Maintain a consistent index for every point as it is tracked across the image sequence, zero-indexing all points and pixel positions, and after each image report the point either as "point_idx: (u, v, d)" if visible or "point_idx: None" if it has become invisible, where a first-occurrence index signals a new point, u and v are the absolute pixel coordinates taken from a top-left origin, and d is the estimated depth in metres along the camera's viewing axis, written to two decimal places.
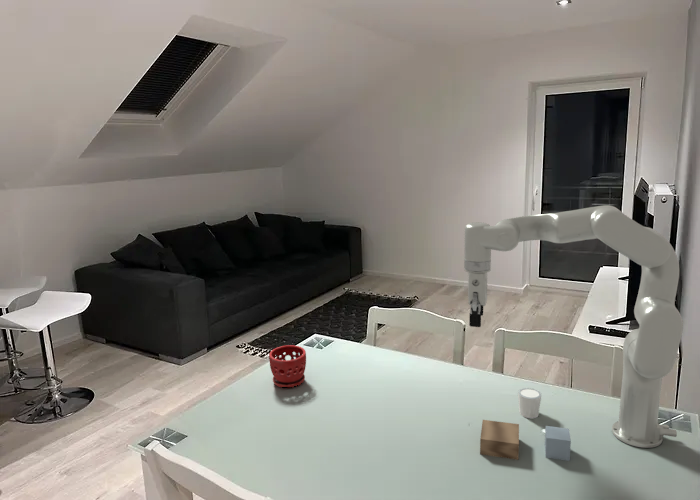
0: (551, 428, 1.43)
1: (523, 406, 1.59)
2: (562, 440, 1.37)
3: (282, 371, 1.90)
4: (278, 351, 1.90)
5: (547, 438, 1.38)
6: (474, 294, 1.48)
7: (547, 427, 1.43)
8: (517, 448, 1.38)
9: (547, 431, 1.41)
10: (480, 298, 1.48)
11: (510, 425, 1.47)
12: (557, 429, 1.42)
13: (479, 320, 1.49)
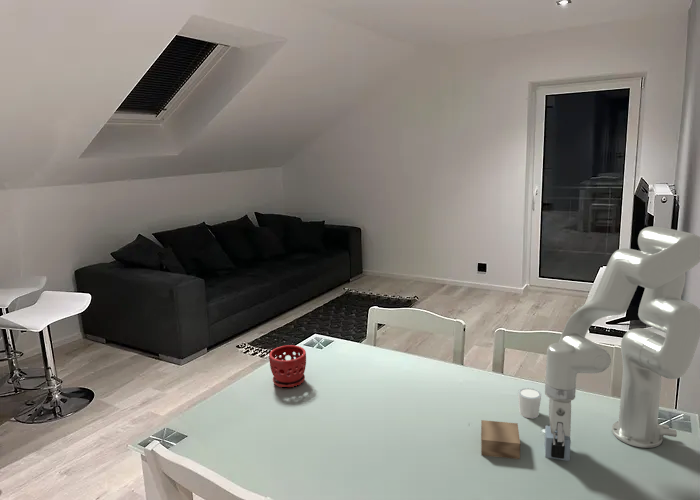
0: None
1: (523, 406, 1.59)
2: None
3: (282, 371, 1.90)
4: (278, 351, 1.90)
5: (547, 438, 1.38)
6: (558, 426, 1.34)
7: (547, 427, 1.43)
8: (518, 448, 1.39)
9: (547, 431, 1.41)
10: (565, 429, 1.34)
11: (509, 425, 1.47)
12: None
13: (562, 451, 1.37)
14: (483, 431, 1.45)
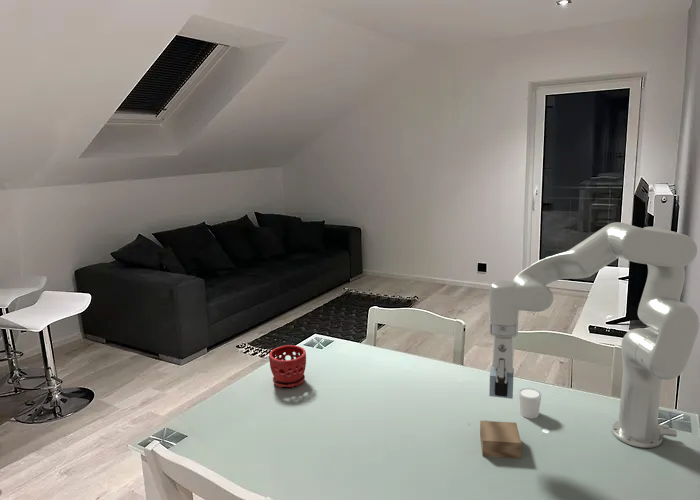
0: None
1: (523, 406, 1.59)
2: None
3: (282, 371, 1.90)
4: (278, 351, 1.90)
5: (490, 376, 1.38)
6: (500, 363, 1.34)
7: (492, 367, 1.43)
8: (519, 447, 1.39)
9: (491, 370, 1.41)
10: (507, 365, 1.34)
11: (508, 424, 1.47)
12: None
13: (506, 389, 1.37)
14: (483, 432, 1.44)
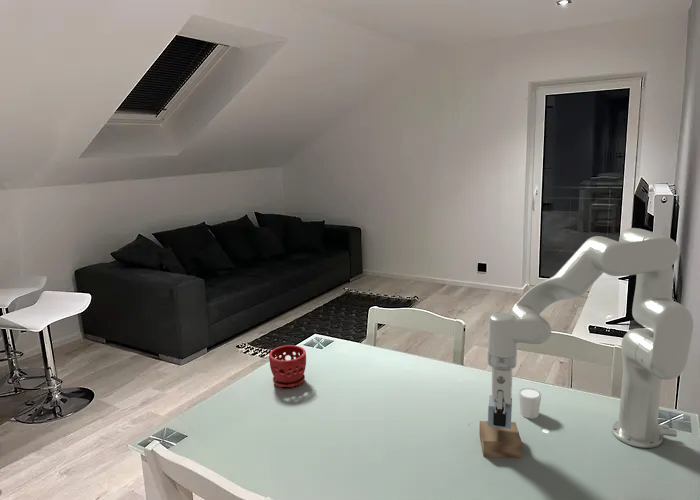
0: None
1: (523, 406, 1.59)
2: None
3: (282, 371, 1.90)
4: (278, 351, 1.90)
5: (489, 406, 1.40)
6: (499, 394, 1.36)
7: (490, 396, 1.45)
8: (520, 447, 1.39)
9: (490, 400, 1.43)
10: (505, 397, 1.36)
11: None
12: None
13: (504, 419, 1.39)
14: (483, 432, 1.44)
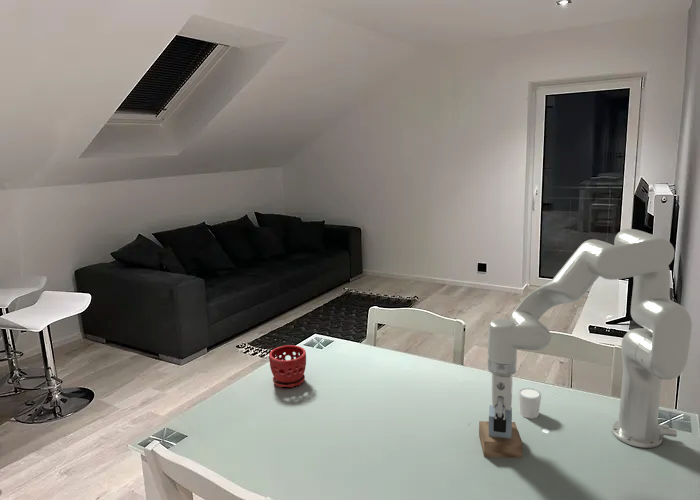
0: None
1: (523, 406, 1.59)
2: None
3: (282, 371, 1.90)
4: (278, 351, 1.90)
5: (489, 416, 1.41)
6: (499, 399, 1.36)
7: (490, 406, 1.46)
8: (521, 446, 1.39)
9: (490, 410, 1.44)
10: (505, 403, 1.37)
11: None
12: None
13: (504, 425, 1.38)
14: (484, 432, 1.44)
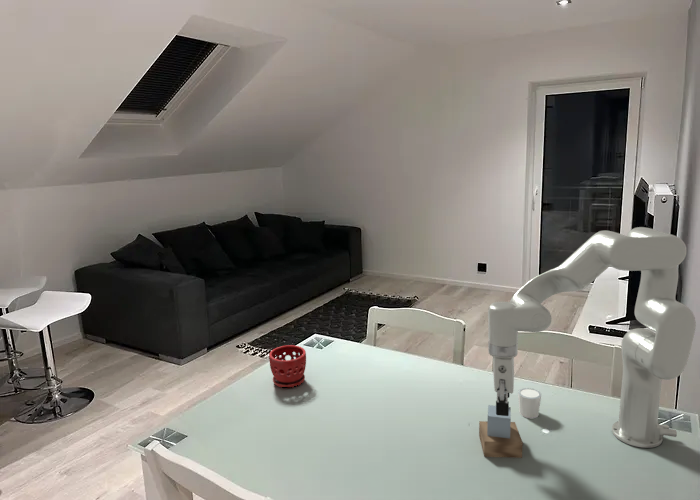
0: (493, 407, 1.45)
1: (523, 406, 1.59)
2: (502, 418, 1.40)
3: (282, 371, 1.90)
4: (278, 351, 1.90)
5: (488, 416, 1.41)
6: (501, 382, 1.35)
7: (489, 406, 1.46)
8: (521, 446, 1.39)
9: (489, 410, 1.44)
10: (507, 386, 1.36)
11: None
12: None
13: (507, 409, 1.37)
14: (484, 432, 1.44)
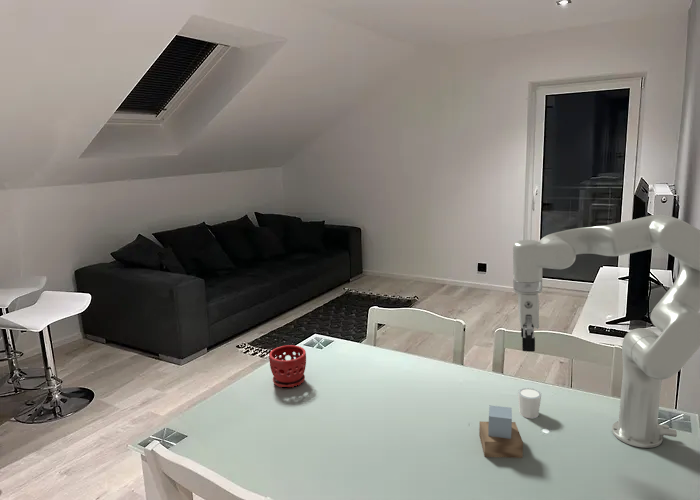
0: (494, 407, 1.45)
1: (523, 406, 1.59)
2: (503, 418, 1.40)
3: (282, 371, 1.90)
4: (278, 351, 1.90)
5: (489, 416, 1.41)
6: (527, 317, 1.38)
7: (490, 406, 1.46)
8: (521, 446, 1.39)
9: (490, 410, 1.44)
10: (534, 321, 1.38)
11: None
12: (500, 408, 1.45)
13: (533, 344, 1.40)
14: (484, 432, 1.44)
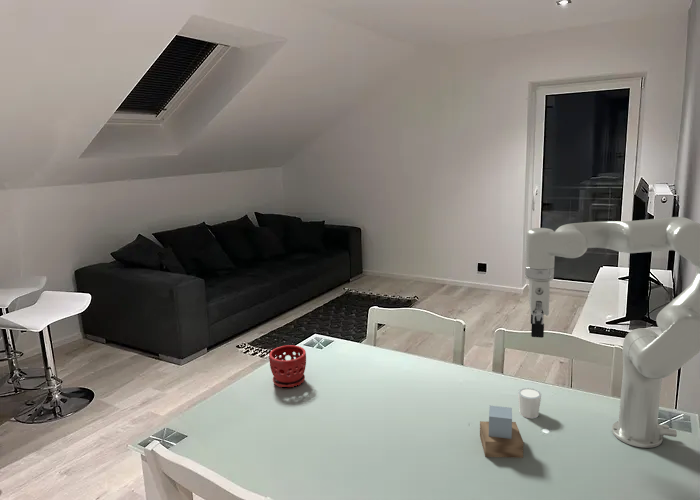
0: (494, 407, 1.45)
1: (523, 406, 1.59)
2: (504, 418, 1.40)
3: (282, 371, 1.90)
4: (278, 351, 1.90)
5: (490, 417, 1.41)
6: (537, 303, 1.41)
7: (490, 407, 1.46)
8: (522, 446, 1.39)
9: (490, 410, 1.44)
10: (544, 307, 1.41)
11: None
12: (500, 408, 1.45)
13: (542, 330, 1.42)
14: (485, 432, 1.44)
